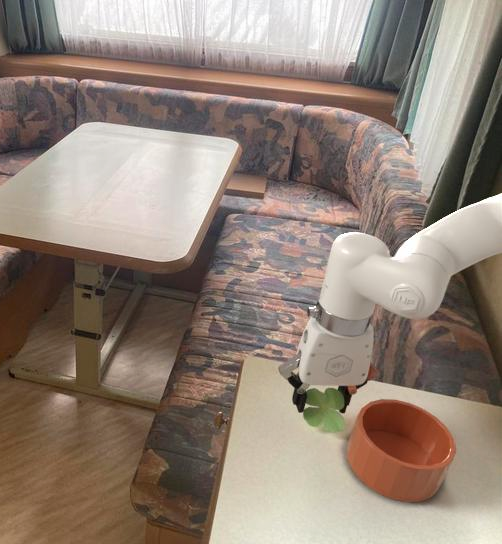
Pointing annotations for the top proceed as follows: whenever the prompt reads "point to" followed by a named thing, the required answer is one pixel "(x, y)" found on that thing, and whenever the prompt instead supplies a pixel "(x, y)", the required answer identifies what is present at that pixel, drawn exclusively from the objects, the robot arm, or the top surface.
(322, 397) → the green leafy piece
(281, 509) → the top surface
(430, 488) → the planter
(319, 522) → the top surface
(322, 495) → the top surface
